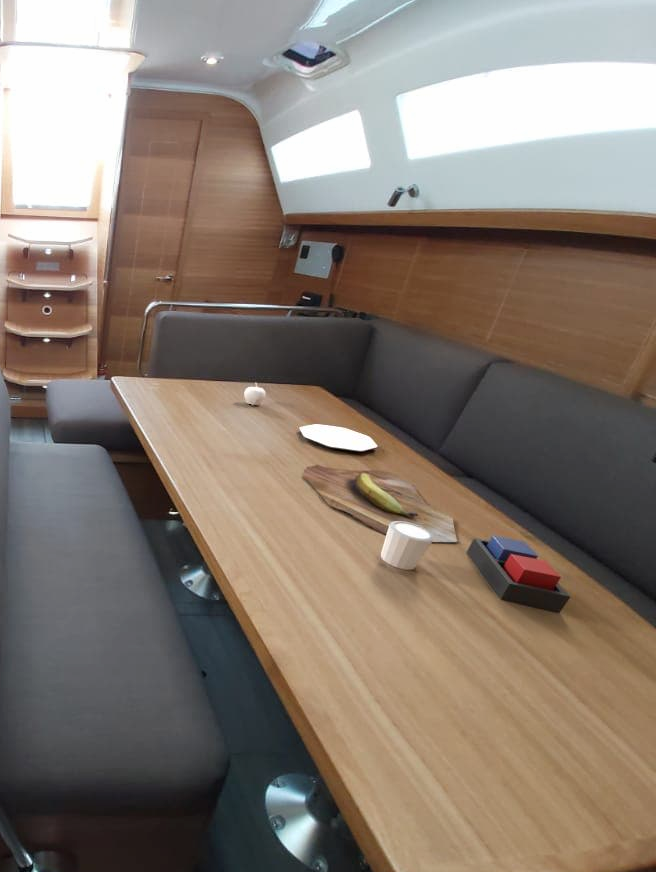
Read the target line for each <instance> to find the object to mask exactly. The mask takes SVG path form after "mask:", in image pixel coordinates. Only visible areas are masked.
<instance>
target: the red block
mask: <svg viewBox="0 0 656 872" xmlns="http://www.w3.org/2000/svg"><path fill="white" fill-rule="evenodd" d="M503 570H504V571H505V572H506V574H507V575H508V576H509V577H510V579H511V580H512V581H513V582H515V583H520V584H524V585H529V586H533V587H538V588H543V589H547V590H552V591H553V589H554V588H555V586H556V585H557V583H558V584H559V582H560V580H561V578H562V576H561V575H560V574H559V573H558V572H557V571H556V570H555V569H554V568H553V567H552V566H551V565H550V564H549V562H547V561H546V560H544V559H539V558H537V559H534V558H529V557H524V556H519V555H513V554H510V556H509V558H508V560H507V561H506V563H505V565H504V567H503Z"/></svg>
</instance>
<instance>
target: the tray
mask: <svg viewBox="0 0 656 872" xmlns="http://www.w3.org/2000/svg"><path fill="white" fill-rule="evenodd" d="M489 541H490V540H487V539H482V538H477V537H474V538H473V539H472V541H471V543H470V544H469V547H468V549H467V551H466V553H467V555H468V556H469V558H470V559H471V560H472V562H473V563H474V564H475V566H476V567H477V569H478V570H479V572H480V573H481V574H482V576H483V577H484V579H485V580H486V582H488V584H489V585H490V587H491V588H492V590H493V591H494V592H495V594H496V595H497V596H498V598H499V600H502V601H506V602H509V603H514V604H519V605H524V606H529V607H532V608H538V609H540V610H541V609H542V610H546V611H549V612H553V613H554V612H555V613H561V612H562V610H563V609H564V607H565V606H566V605H567V603H568V601H569V600H570V599H571V595H570V594H569V593H568V592H567V591H566V590H565V589H564V588H563V587H562V586H561V585H560V583H559V582H558V583H557V585H556V586H555V588H554V589H553V591H552V590H547V589H543V588H538V587H533V586H529V585H524V584H520V583H515V582H513V581H512V580H511V579H510V577H509V576H508V575H507V574H506V572H505V571H504V570H503V567H504V565H505V563H506V561H502V560H497V559H495V558H494V557H493V556H492V555H491V553H490V552H489V551H488V550H487V548H486V546H487V545H488V543H489Z"/></svg>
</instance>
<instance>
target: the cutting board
mask: <svg viewBox="0 0 656 872" xmlns="http://www.w3.org/2000/svg"><path fill="white" fill-rule="evenodd" d="M302 478H304V479H305V480H306V481H307V482H308V483H310V485H311V486H312V487H313V488H314V489H315V490H316V492H317V493H318V494H319V495H320V496H321V498H322V499H323V500H324V501H325V503H327V505H328V506H330V507H332V508H333V509H334V508H335V509H338V510H340V511H343V512H344V513H345V512H346V513H347V514H350V515H351V516H352V517H353V518H354V519H356V520H358V521H361V522H362V523H363V524H364V525H366V526H368V527H370V528H373V529H374V530H376V531H378V532H379V533H381V534H383V535H385V536H386V535H387V531H388V528H389V525H390V523H391V522H394V521H402V522H408V523H412V524H415V525H418V526H420V527H423V528H424V529H426V530H428V531H429V532H430V533H432V534H433V536H434V539H433V541H432V542H431V543H458V539H457V535H456V530H455V525H454V518H453V517H452V516H451V515H449V514H447V513H444V512H442V511H440V510H438V509H436V508H433V507H432V506H430V505H429V504H428V503H426V501H424V499H423V498H422V496H421V495H420V493H418V491H417V489H416V488H415V486H414V484H412V483H411V482H409V481H407V480H406V479H405V478H403V477H401V476H399V475H397V474H395V473H393V472H389V471H386V470H379V469H371V470H355V469H354V470H352V469H339V468H332V467H327V466H326V467H325V466H322V465H318V464H315V465H314V466H306V468H305V471H304V473H303V476H302Z"/></svg>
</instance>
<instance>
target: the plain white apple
mask: <svg viewBox="0 0 656 872" xmlns="http://www.w3.org/2000/svg"><path fill="white" fill-rule="evenodd" d="M243 394H244V395H243V396H244V400H245V403H246V404H248V405H249V404H251V405H250V406H254V405H257V406H259V405H260V404H261V403H262V402H263V401H264V400H265V398H266V396H267V393H266V390H265V389H264V388H262V387H258V383H257V382H255V386H249V387H247V388H246V389H245V390H244V393H243Z"/></svg>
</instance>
